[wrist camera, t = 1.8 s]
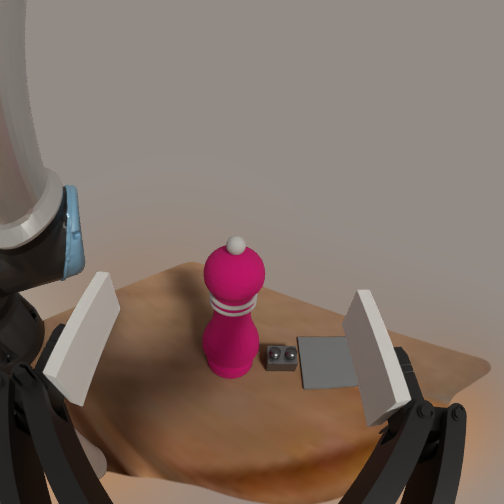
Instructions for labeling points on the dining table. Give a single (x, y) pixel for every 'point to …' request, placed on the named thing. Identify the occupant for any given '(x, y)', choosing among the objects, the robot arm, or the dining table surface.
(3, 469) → the robot arm
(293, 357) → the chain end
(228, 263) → the pepper mill
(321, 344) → the plate
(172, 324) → the dining table surface
